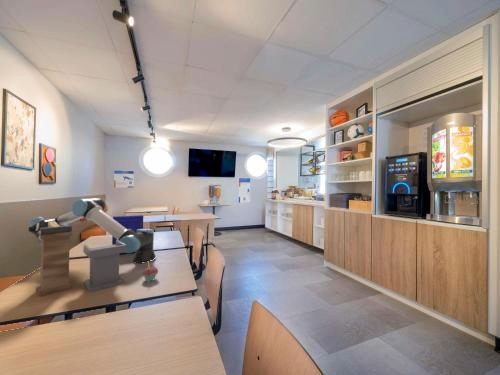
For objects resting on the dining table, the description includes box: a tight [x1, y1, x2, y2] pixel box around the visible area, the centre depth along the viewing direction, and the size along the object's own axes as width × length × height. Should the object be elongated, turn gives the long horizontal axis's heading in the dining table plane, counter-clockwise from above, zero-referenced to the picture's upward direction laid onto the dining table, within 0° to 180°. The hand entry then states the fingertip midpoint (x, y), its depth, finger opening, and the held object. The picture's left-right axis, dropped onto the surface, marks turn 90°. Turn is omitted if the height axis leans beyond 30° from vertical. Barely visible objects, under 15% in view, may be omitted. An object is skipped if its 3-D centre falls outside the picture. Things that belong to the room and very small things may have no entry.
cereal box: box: [111, 214, 144, 255], centre depth 178 cm, size 22×6×30 cm, turn 122°
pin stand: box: [36, 231, 73, 297], centre depth 114 cm, size 14×12×30 cm
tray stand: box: [83, 240, 126, 293], centre depth 121 cm, size 15×17×22 cm
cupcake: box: [141, 262, 159, 282], centre depth 127 cm, size 9×8×12 cm
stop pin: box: [40, 221, 73, 235], centre depth 118 cm, size 24×12×3 cm, turn 48°
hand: (53, 224), depth 134 cm, fingers open, 13 cm apart
